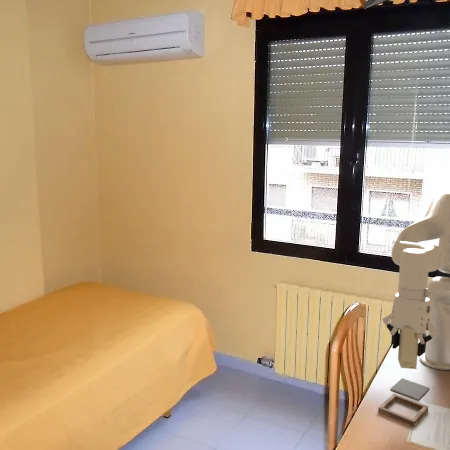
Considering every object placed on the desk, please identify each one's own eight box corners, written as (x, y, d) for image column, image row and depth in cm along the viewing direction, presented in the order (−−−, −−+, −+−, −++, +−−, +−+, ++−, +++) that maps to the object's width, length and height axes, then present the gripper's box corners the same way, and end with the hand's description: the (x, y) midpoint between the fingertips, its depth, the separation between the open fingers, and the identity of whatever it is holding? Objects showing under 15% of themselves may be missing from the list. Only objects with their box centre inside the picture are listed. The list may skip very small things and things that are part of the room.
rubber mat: (402, 379, 160) (402, 378, 160) (429, 389, 154) (429, 387, 154) (390, 389, 154) (390, 388, 154) (418, 400, 148) (418, 399, 148)
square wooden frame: (393, 397, 149) (393, 393, 149) (427, 410, 142) (428, 406, 142) (378, 412, 142) (378, 407, 141) (413, 426, 135) (414, 422, 134)
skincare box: (416, 369, 136) (420, 329, 133) (400, 368, 137) (403, 328, 134) (412, 359, 142) (415, 320, 139) (397, 358, 143) (400, 319, 140)
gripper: (448, 295, 132) (443, 355, 135) (388, 282, 143) (385, 338, 147) (438, 303, 126) (433, 365, 130) (377, 288, 138) (373, 346, 142)
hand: (407, 350), depth 138 cm, fingers closed on skincare box, 6 cm apart
